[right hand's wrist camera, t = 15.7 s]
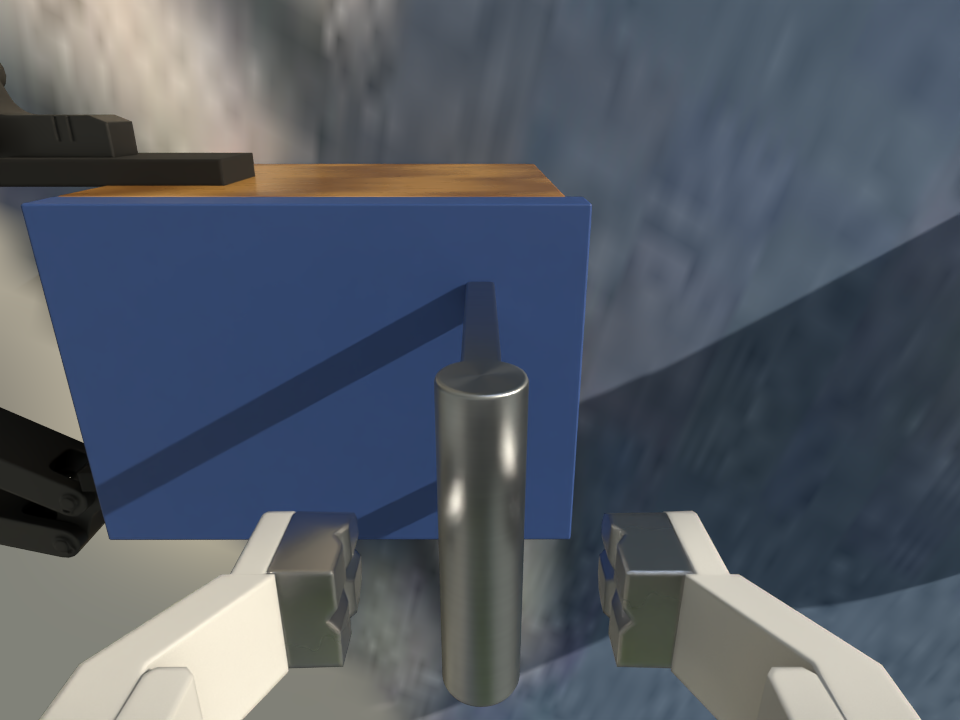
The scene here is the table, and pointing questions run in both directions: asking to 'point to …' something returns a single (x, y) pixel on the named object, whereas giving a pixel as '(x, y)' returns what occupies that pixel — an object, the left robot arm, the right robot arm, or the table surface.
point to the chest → (361, 182)
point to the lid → (333, 377)
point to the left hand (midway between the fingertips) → (260, 328)
